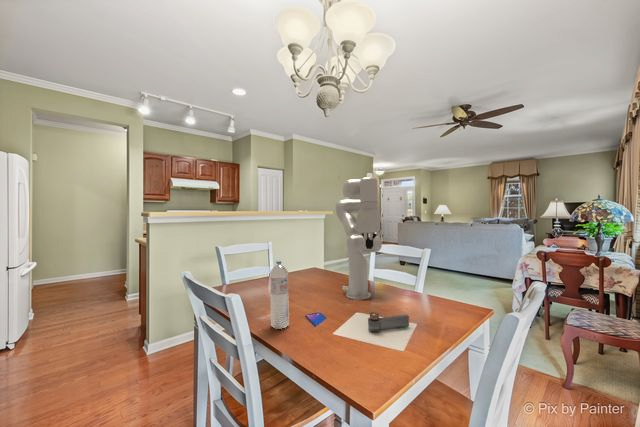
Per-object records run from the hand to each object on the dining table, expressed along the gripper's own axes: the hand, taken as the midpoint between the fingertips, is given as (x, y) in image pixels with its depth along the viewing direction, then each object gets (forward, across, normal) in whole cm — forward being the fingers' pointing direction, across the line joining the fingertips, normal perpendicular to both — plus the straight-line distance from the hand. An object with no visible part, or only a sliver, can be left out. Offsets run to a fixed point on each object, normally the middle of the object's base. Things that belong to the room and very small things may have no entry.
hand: (369, 248), depth 117 cm
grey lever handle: (+25, +13, -17) cm, 33 cm away
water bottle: (+27, -25, -31) cm, 48 cm away
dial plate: (+27, +9, -19) cm, 34 cm away
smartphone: (+28, -14, -20) cm, 37 cm away
